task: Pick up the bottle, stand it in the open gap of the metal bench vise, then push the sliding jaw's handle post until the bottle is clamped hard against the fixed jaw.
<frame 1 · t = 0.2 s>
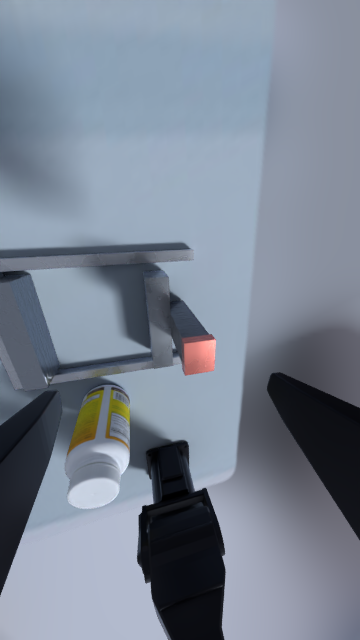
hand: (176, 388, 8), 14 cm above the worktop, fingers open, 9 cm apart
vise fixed: (35, 325, 20), on the worktop
supplement bottle: (107, 398, 25), on the worktop
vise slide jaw: (173, 330, 18), point 5 cm above the worktop, slide at 0.0 cm
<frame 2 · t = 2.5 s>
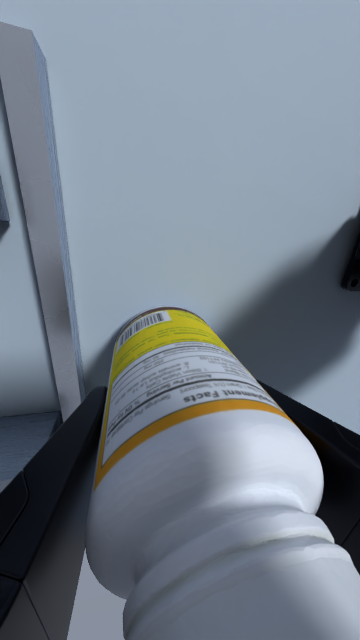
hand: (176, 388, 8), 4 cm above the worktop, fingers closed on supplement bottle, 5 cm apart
supplement bottle: (164, 345, 12), on the worktop, touching gripper
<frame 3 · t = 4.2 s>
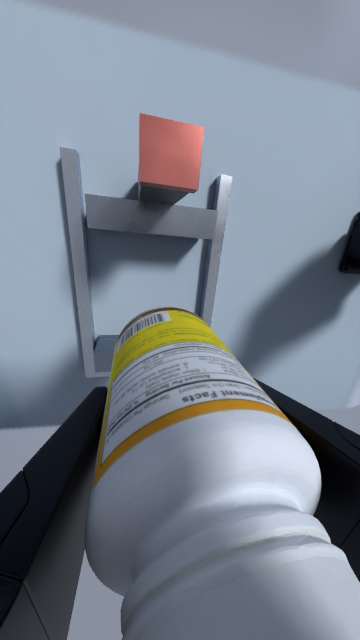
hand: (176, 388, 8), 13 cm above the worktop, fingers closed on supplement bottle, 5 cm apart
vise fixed: (148, 342, 22), on the worktop
supplement bottle: (164, 345, 12), point 9 cm above the worktop, touching gripper
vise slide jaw: (158, 199, 13), point 5 cm above the worktop, slide at 0.0 cm
when the fingers open (5 cm above the worktop, at t = 6.1 s): supplement bottle drops 1 cm, resting in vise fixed.
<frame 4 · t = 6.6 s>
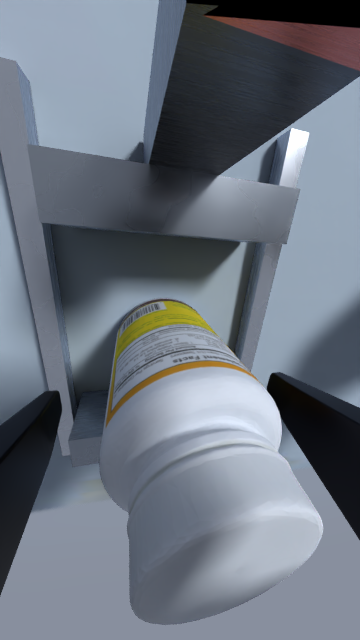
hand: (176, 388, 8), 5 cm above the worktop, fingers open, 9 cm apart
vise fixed: (158, 396, 15), on the worktop
supplement bottle: (161, 334, 13), resting in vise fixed
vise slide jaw: (194, 155, 6), point 5 cm above the worktop, slide at 0.0 cm
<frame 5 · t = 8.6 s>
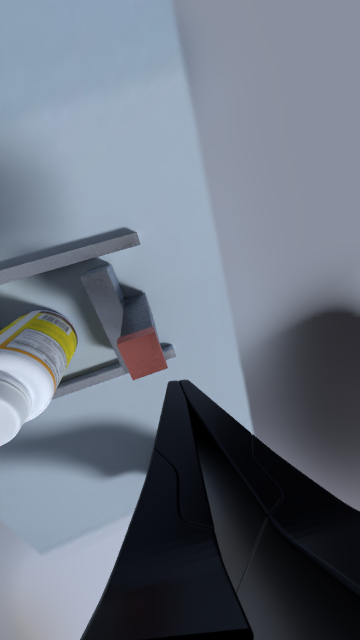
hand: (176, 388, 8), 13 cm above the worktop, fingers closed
supplement bottle: (49, 334, 20), resting in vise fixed
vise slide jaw: (128, 329, 16), point 5 cm above the worktop, slide at 0.0 cm
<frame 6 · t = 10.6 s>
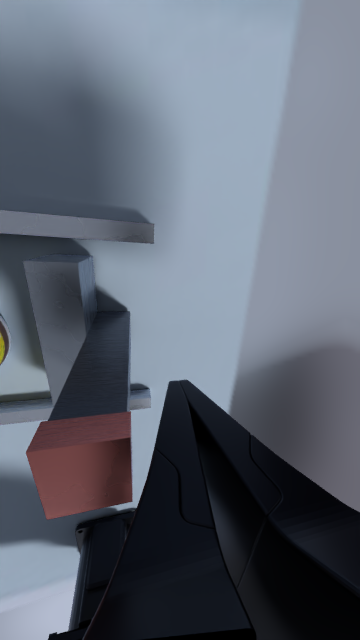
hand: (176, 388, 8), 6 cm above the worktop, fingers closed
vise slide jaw: (84, 371, 9), point 5 cm above the worktop, slide at 0.4 cm, touching gripper
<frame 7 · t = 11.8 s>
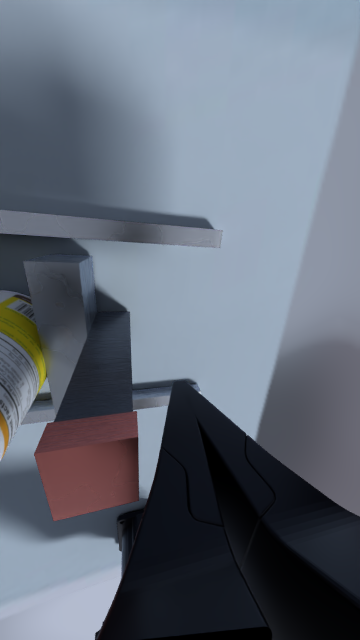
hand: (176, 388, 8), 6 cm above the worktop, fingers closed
supplement bottle: (17, 330, 12), resting in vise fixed, touching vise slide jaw
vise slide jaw: (86, 372, 9), point 5 cm above the worktop, slide at 4.5 cm, touching supplement bottle, gripper
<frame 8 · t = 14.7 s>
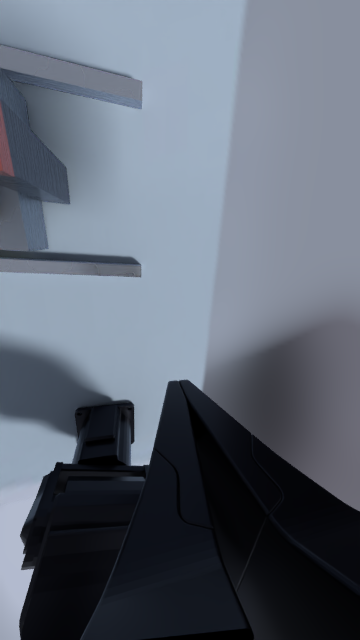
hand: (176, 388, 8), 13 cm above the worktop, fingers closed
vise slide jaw: (2, 161, 11), point 5 cm above the worktop, slide at 4.4 cm
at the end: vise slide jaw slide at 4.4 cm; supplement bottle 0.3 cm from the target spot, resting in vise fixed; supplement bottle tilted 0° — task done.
